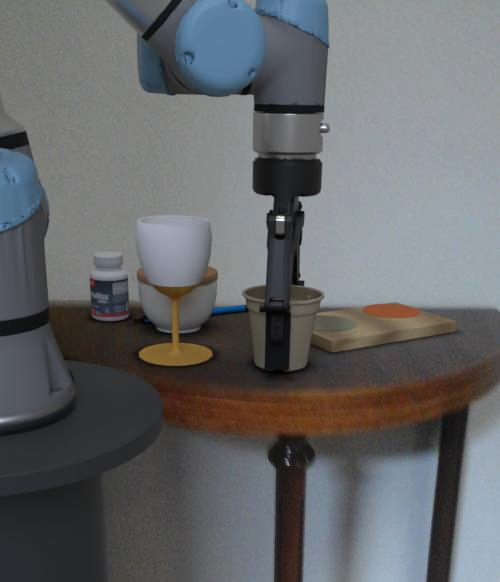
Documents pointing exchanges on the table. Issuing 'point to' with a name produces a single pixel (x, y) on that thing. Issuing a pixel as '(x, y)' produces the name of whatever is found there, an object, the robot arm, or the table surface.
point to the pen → (215, 311)
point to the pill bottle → (109, 287)
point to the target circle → (391, 310)
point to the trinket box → (179, 303)
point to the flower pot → (302, 322)
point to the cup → (174, 275)
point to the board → (373, 328)
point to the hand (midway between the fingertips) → (281, 355)
